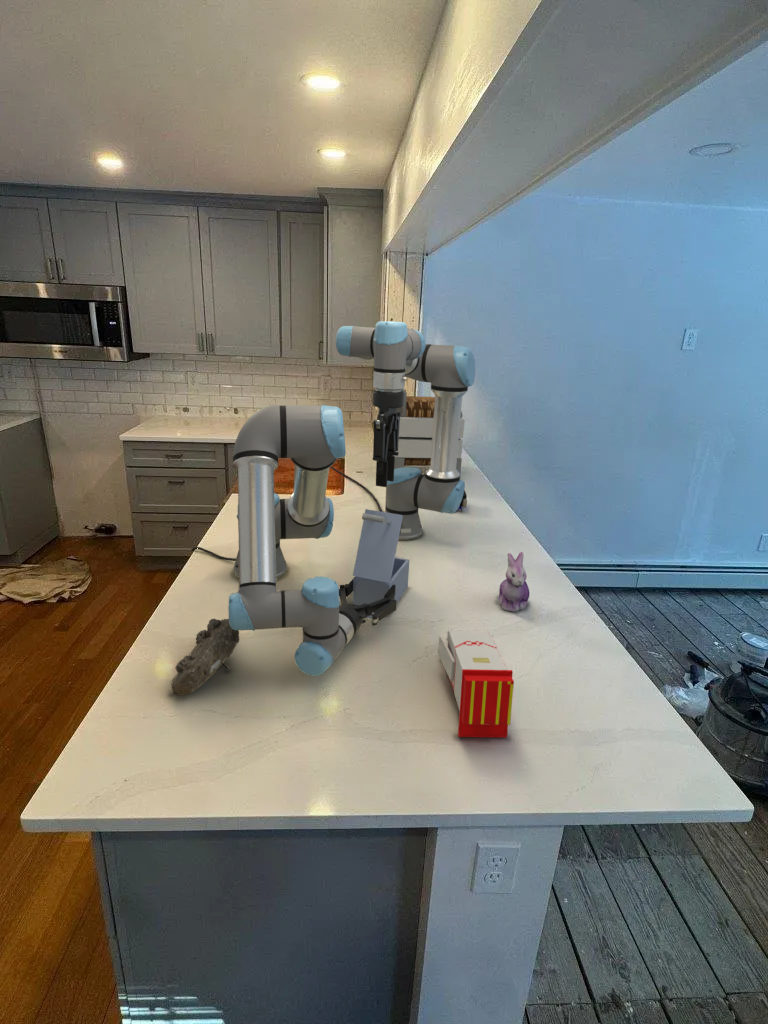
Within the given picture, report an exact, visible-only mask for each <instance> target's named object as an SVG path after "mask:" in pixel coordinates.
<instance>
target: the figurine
mask: <svg viewBox="0 0 768 1024" xmlns="http://www.w3.org/2000/svg"><path fill="white" fill-rule="evenodd" d="M506 556H507V569H506V571H505V579H504V580H502V581H501V583H500V585H499V591H498V592H499V593H498V597H497V598H498V600H497V601H498V604H499V605H500V606H501V607H502V609H503V610H505V611H507V612H508V611H509V612H518V611H520V610H521V611H522V610H524V609H525V608H526V607H527V605H528V601H529V599H530V588H529V585H528V584H527V581H526V580H527V571H526V570H525V567H524V552H523V551H520V552H519V553H518V555H517V557H516V559H515V557H514V556H513V554H512V553H511V552H508V553H507V555H506Z"/></svg>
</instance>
